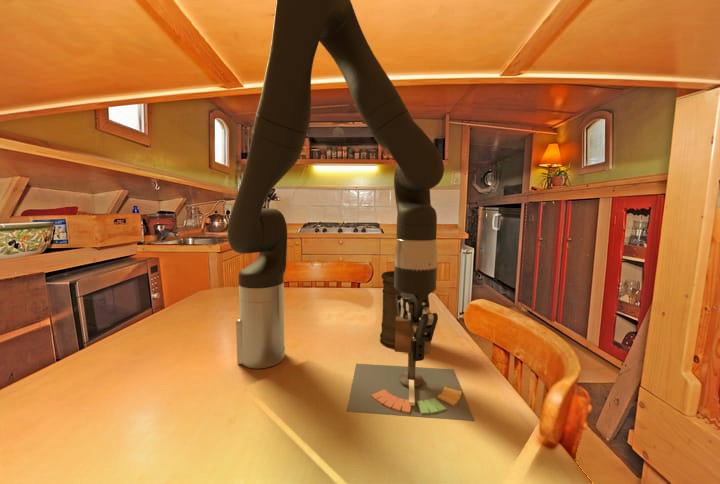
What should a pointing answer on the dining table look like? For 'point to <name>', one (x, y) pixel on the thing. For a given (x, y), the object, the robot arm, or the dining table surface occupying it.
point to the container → (389, 310)
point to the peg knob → (404, 345)
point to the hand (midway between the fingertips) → (413, 354)
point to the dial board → (407, 393)
